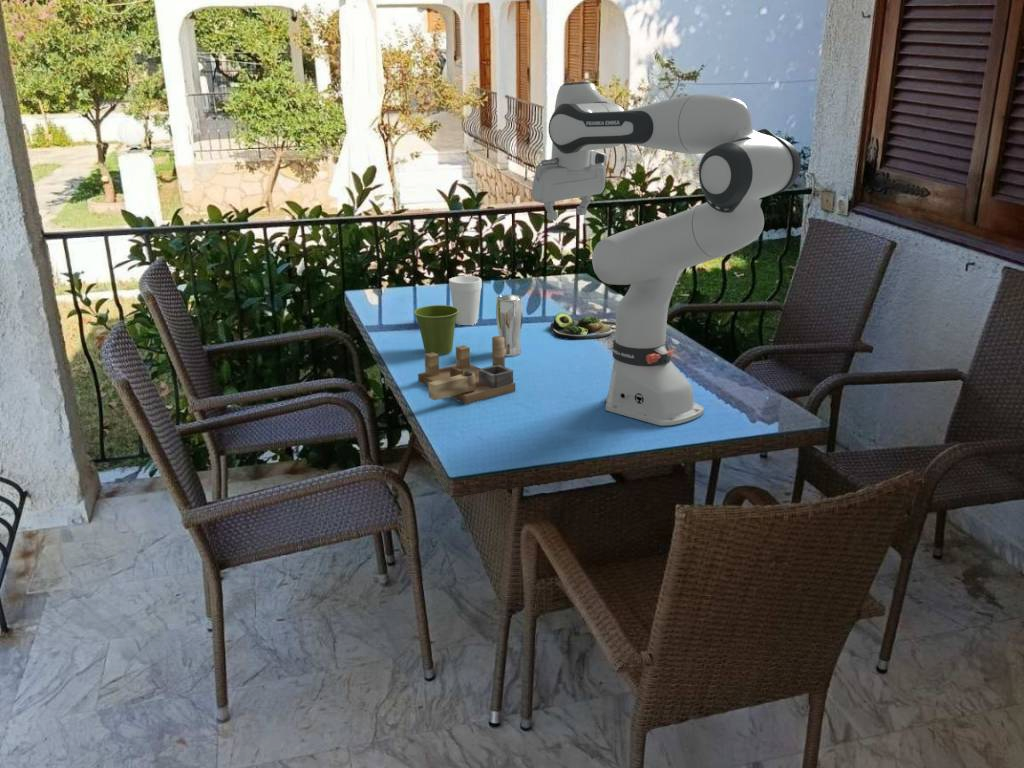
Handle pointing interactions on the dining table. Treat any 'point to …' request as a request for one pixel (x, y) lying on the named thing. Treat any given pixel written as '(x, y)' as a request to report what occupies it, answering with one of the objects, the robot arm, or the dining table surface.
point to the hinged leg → (452, 386)
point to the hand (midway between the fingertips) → (566, 217)
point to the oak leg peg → (498, 350)
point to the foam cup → (466, 298)
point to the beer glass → (510, 322)
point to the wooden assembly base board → (486, 379)
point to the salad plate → (579, 327)
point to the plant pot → (437, 327)
